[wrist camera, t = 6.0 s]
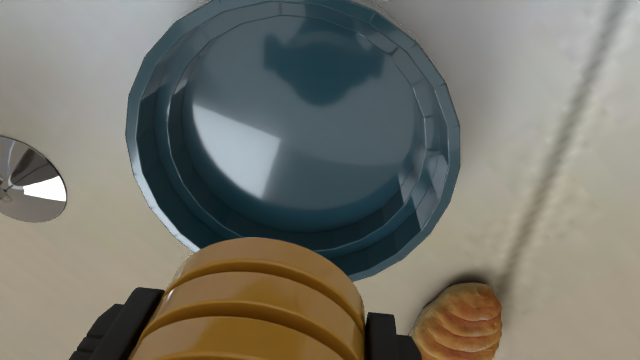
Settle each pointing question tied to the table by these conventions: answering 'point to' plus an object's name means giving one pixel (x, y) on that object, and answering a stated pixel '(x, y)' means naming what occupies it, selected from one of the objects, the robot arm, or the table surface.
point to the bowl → (295, 130)
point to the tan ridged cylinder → (256, 307)
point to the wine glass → (29, 184)
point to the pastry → (460, 324)
